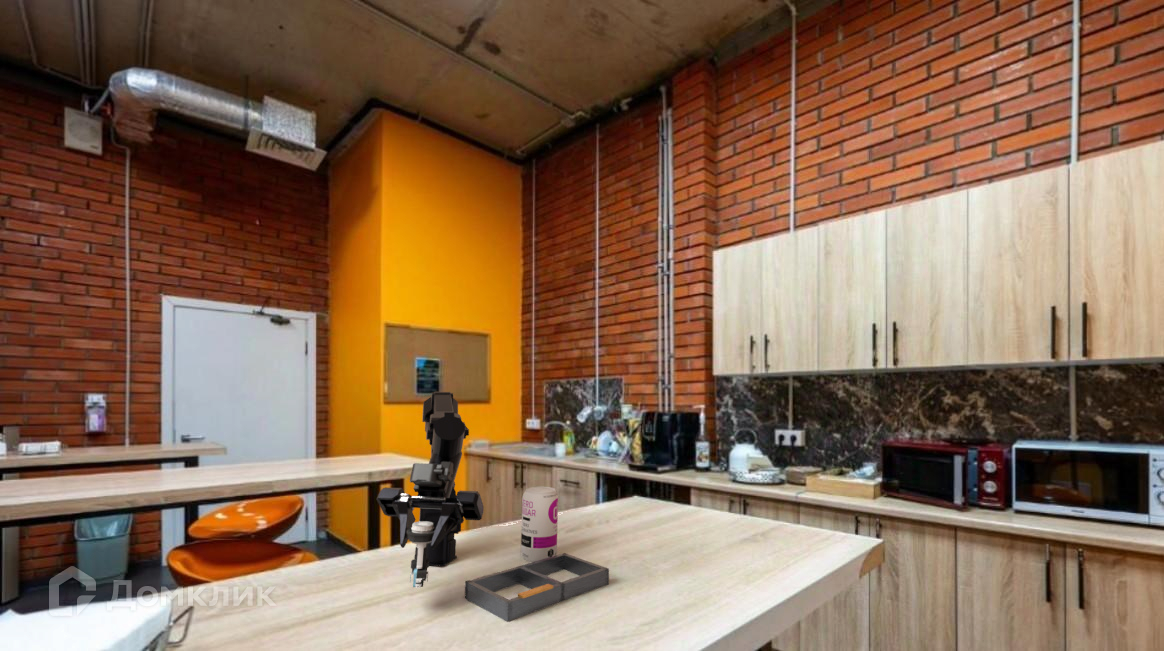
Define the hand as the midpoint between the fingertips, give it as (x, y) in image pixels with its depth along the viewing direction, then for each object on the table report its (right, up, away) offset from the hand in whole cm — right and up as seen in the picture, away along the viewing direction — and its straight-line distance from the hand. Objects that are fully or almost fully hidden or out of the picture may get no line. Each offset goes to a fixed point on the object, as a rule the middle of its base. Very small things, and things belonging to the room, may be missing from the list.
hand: (416, 547), depth 95 cm
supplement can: (+19, -15, +30) cm, 38 cm away
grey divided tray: (+20, -13, +10) cm, 26 cm away
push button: (0, -7, +1) cm, 7 cm away
